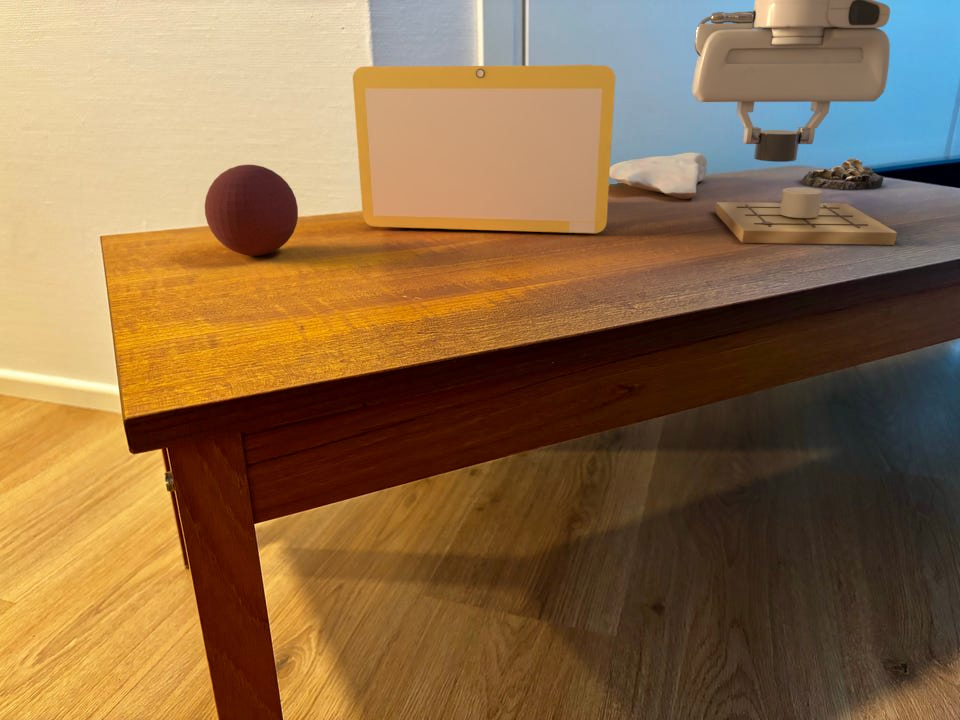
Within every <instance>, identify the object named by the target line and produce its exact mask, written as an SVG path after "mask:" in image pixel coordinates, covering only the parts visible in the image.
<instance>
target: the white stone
mask: <svg viewBox="0 0 960 720" xmlns="http://www.w3.org/2000/svg"><path fill="white" fill-rule="evenodd" d="M823 193H824V191H822V189H821V190H820V189H818V188H813V187H804V186H803V187H801V186H800V187H799V186H793V187H785V188H783V189H782V192H781V199H780V203H781V205H780V212H779V213H780V214H781V215H783V216H786V217H792V218H815V217H818V216H819V212H820V206H821V203H822V201H823V199H822V198H823Z"/></svg>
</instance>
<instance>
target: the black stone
mask: <svg viewBox="0 0 960 720" xmlns="http://www.w3.org/2000/svg"><path fill="white" fill-rule="evenodd" d="M759 138H760V140H759V144H755V146H754V154H753V159H754V160H757V161H763V162H774V163H775V162H776V163H785V162H786V163H787V162H788V163H789V162H795V161H796V160H797V157H798V151H799V145H800V144H799V138H800V133H799V132H797V131H796V130H795V131H794V130H785V129H784V130H783V129H767V130H761V133H760V135H759Z"/></svg>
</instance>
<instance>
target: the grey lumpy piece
mask: <svg viewBox="0 0 960 720" xmlns="http://www.w3.org/2000/svg"><path fill="white" fill-rule="evenodd" d="M883 181H884V176H883V175H879V174H877V173H875V172H874V171H873V169H872V167H870V166H863V161H861V160H859V159H857V158H847V160H845V161H843V162H842V164H841V165H836V166H833V167H832V168H829V169H828V168H824V169H816V170H813V172H812V171H808V172H807V173H806V174H805V175H804V177H803V178H802V180H801V181H800V183H801V184H803V185H804V186H809V187H815V188H823V189H833V190H852V191H853V190H874V189H878V188H881V187H882V185H883Z"/></svg>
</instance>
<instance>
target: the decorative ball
mask: <svg viewBox="0 0 960 720" xmlns="http://www.w3.org/2000/svg"><path fill="white" fill-rule="evenodd" d="M204 216H205V219H206V224H208V228H209V229H210V231H211V232H212V235H213V236H214V237H215V238H216V239H217V241H218V242H220V243H221V244H222V246H224V247H225V248H227V249H229V250H231V251H232V252H234V253H237V254H241V255H243V256H255V257H256V256H265V255H268V254H271V253H273V252H275V251H277V250H278V249H280V248H282V247H283V246H284V245H285V244H286V243H287V242H288V241H289V240H290V238H291V237H292V235H294V232H295V230H296V227H297V224H298V219H299V205H298V202H297V198H296V196H295V194H294V191H293V189H292V188H291V185H289V183H288V182H287V181H286V180H285V179H284V178H283V177H282V176H281V175H280V174H278V173H277V172H275V171H274V170H273V169H269V168H267V167H265V166H262V165H256V164H240V165H236V166H233V167H230V168H228V169H226V170H225V171H223V172H221V173H219V175H218V176H217V177H216V178H215V179H214V180H213V182H211V185H210V186H209V188H208V190H207V193H206V195H205V201H204Z"/></svg>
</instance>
